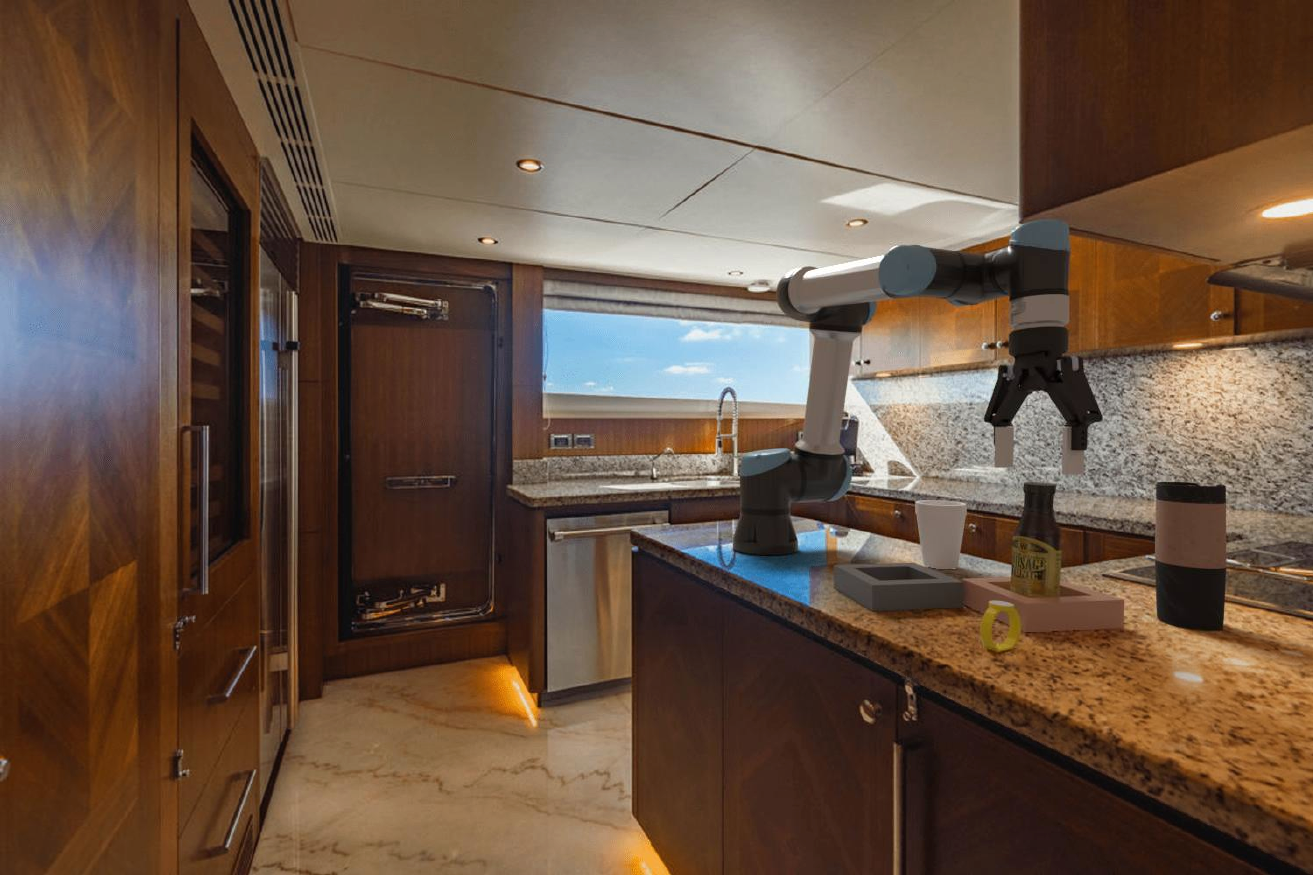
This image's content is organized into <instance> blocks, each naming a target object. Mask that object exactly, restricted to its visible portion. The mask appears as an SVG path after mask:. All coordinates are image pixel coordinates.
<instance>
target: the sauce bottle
mask: <svg viewBox="0 0 1313 875" xmlns="http://www.w3.org/2000/svg"><path fill="white" fill-rule="evenodd" d="M1056 488H1057V486H1056V484H1054V483H1049V482H1040V481H1038V482H1037V481H1026V482H1025V481H1024V483H1023V487H1022V490H1023V493H1024V497H1023V498H1024V500H1023V501H1024V502H1023V509H1022V513H1021V516H1020V519H1019V520H1018V524H1017V526H1016V528H1015V532H1014V534H1013V537H1012V549H1011V570H1010V571H1011V572H1010V577H1011V588H1010V591H1011V592H1014V593H1017V594H1019V595H1022V596H1025V597H1027V598H1044V597H1060V580H1061V576H1062V575H1061V573H1062V572H1061V571H1062V548H1061V547H1062V536H1063V534H1062V529H1061V527H1060V525H1059V523H1058V522H1057V521H1056V518H1055V516H1054V513H1055V509H1054V500H1055V499H1054V498H1055V497H1054V496H1055V495H1056V492H1057V491H1056V490H1057V489H1056Z"/></svg>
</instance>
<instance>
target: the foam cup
mask: <svg viewBox="0 0 1313 875" xmlns="http://www.w3.org/2000/svg"><path fill="white" fill-rule="evenodd" d="M914 506H915V510H914V511H915V512H914V513H915V515H916V519H917V520H916V521H917V526H918V533H919V534H918V535H919V543H920V548H921V556H922V562H923V566H924V565H925V566H928V567H931V568H930V569H932V568H936V569H935V570H938V569H953V568H957V567H958V568H959V564H960V563H959V562H960V556H961V549H962V543H963V542H962V541H963V535H964V528H965V521H966V517H967V516H968V515H967V512H968V511H967V510H968V509H967V507H968V506H967V503H966V502H962V501H961V502H960V501H955V500H954V501H953V500H952V501H951V500H940V499H939V500H937V499H936V500H935V499H931V500H929V499H928V500H927V499H926V500H924V499H923V500H916V501H915V505H914ZM925 566H924V567H925ZM958 568H957V569H958Z"/></svg>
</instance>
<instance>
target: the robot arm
mask: <svg viewBox="0 0 1313 875" xmlns="http://www.w3.org/2000/svg"><path fill="white" fill-rule="evenodd" d="M1008 244H1009V245H1008V246H1005V247H1003V248H1000V249H997V250H993V251H990V252H987V253H974V252H966V251H961V250H960V251H959V250H958V251H957V250H948V249H941V248H936V247H935V248H934V247H927V246H922V245H920V244H909V245H906V244H898V245H896V246H893V247H891V248H890V250H888V252H886V253H885V254H884V255H879V256H875V257H870V258H864V259H860V260H856V261H850V262H847V263H841V264H836V265H831V266H827V267H823V268H822V267H821V268H817V267H815V266H811V265H809V266H802V267H798V268H794V269H791V270H789V271H788V272H786V273H785V274H784V275H783V276H782V277H780V278H781V279H780V280H779V281H778V284H777V286H776V292H775V294H776V295H775V299H776V302H777V305H778V307H779V309H780V311H782V313H784V314H785V315H786V316H787V317H789V318H790V319H793V320H795V321H798V322H799V321H800V322H806V323H809V327H808V328H809V329H808V331H809V332H810V333H811V335H813V339H814V342H813V350H812V358H811V365H810V374H809V382H808V388H807V389H808V390H807V397H806V404H805V405H806V406H805V414H804V421H803V428H802V437H801V438H800V439H799V440H798V441H796V442H795V444H794V449H793V453H792V452H791V449H789V448H783V447H782V448H771V449H770V448H769V449H768V448H767V449H760V450H754V451H750V452H747V453H745V454H743V455H742V456H741V459H740V466H739V473H738V474H739V492H740V493H739V506H740V507H739V519H738V522H737V525H736V528H735V530H734V534H733V537H732V549H733V550H735V551H737V552H739V553H743V554H750V555H760V556H761V555H762V556H778V555H779V556H780V555H791V554H793V553H794V554H795V553H796V552H798V551H799V540H798V537H797V533H796V530H795V527H794V523H793V520H792V517H791V504H798V503H801V504H802V503H826V502H832V501H837V500H839V499H840V498H842V497H843V496H844V495H846V493H847V492H848V490H849V488H850V486H851V483H852V479H853V468H852V467H850V466H851V461H850V460H849V458H848V457H847V456H846V455H845V452H846V451H845V448H844V447H843V445H841V444H840V440H841V432H842V423H843V418H844V417H843V416H844V410H845V402H846V398H847V397H846V396H847V391H848V390H847V389H848V380H849V373H850V368H851V361H852V353H853V347H854V346H853V345H854V341H855V340H856V339H857V338H858V337H860V336H861V335H862V331H863V327H864V326H865V325H868V324H869V323H870V322H871V321H872V320H873V319H872V318H874V317H875V314H876V312H877V309H878V308H877V307H878V302H880V301H887V300H888V301H889V300H895V299H897V300H898V299H899V300H901V299H910V298H928V299H929V298H933V299H941V300H945V301H947V302H948V303H949V304H951V305H952V306H955V307H965V306H977V305H979V304H981V303H985V302H990V301H993V300H998V299H1002V298H1005V297H1008V298H1009V322H1008V323H1009V328H1010V329H1012V331H1010V333H1009V334H1008V354H1009V356H1010V357H1013V358H1014V363H1013V364H1000V365H999V366H998V370H997V379H996V381H995V383H994V384H995V385H994V388H993V391H992V394H991V395H990V396H991V397H990V399H989V402H988V405H987V408H986V411H985V413H984V416H983V422H984V423H987V424H988V423H989V424H990V425H991V426H992V427H993V446H994V468H996V469H997V468H1001V469H1002V468H1004V469H1005V468H1007V469H1008V468H1014V449H1015V448H1014V445H1015V444H1014V442H1015V441H1014V437H1015V435H1014V434H1015V432H1014V431H1015V427H1014V425H1013V423H1012V421H1013V420H1014V419H1015V417H1016V415H1017V414H1018V412H1019V411H1020V409H1021V407H1022V405H1023V404H1024V402H1025V401H1026V399H1027V398H1028V396H1030V395H1032V394H1033V392H1041V391H1042V392H1044V393H1046V394H1047V395H1048V396H1049V399H1050V400H1051V401H1052V402H1053V405H1055V407H1056V410H1058V412H1059V413H1060V415H1061V416H1062V418H1063V419H1064V421H1065V424H1064V425H1063V427H1062V444H1061V445H1062V449H1061V451H1062V452H1061V475H1065V476H1066V475H1067V476H1068V475H1071V476H1072V475H1073V476H1074V475H1075V476H1076V475H1081V476H1082V475H1085V451H1087V449H1088V434H1089V433H1088V432H1089V431H1088V430H1089V427H1091V425H1093V424H1096V423H1101V422H1102V420H1103V418H1104V417H1103V414H1102V411H1101V408H1100V407H1099V404H1098V401H1097V400H1096V398H1095V395H1094V392H1093V391H1092V388H1091V385H1090V383H1089V380H1088V378H1087V376H1086V373H1085V368H1084V367H1085V366H1084V358H1083V356H1079V355H1077V356H1076V355H1064V354H1066V353H1068V352H1069V329H1068V328H1067V327H1065V326H1066V325H1068V324H1069V323H1070V290H1069V284H1070V282H1069V280H1070V266H1071V264H1070V263H1071V254H1072V253H1071V252H1072V248H1071V240H1070V227H1069V224H1068V223H1067V222H1065V221H1063V220H1059V219H1052V218H1049V219H1047V218H1046V219H1039V220H1038V219H1037V220H1033V221H1028V222H1024V223H1022V224H1019V225H1018V226H1017V227H1015V228H1013V229H1012V230H1011V233H1010V238H1009V241H1008Z"/></svg>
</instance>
